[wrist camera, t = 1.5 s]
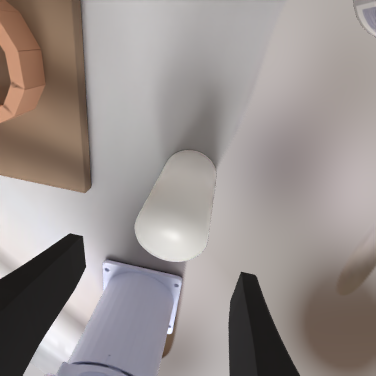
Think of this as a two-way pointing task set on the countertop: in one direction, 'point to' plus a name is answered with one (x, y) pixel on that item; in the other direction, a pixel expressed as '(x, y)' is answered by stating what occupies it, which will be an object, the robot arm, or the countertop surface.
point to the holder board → (43, 94)
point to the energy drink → (366, 14)
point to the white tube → (179, 208)
